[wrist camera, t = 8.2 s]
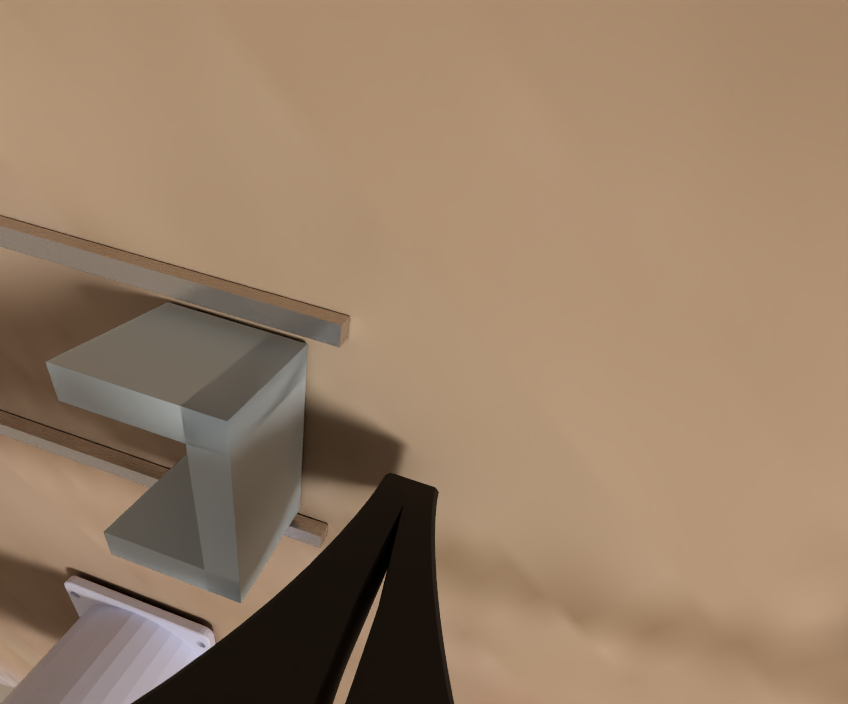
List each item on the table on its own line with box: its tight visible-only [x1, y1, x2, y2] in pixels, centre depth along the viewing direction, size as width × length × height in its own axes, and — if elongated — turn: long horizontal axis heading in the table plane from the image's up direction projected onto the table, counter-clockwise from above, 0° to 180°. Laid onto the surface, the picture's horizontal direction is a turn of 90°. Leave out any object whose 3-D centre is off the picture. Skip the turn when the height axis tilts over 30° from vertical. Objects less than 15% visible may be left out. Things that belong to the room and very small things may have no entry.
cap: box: [45, 302, 308, 603], centre depth 11 cm, size 6×4×3 cm, turn 169°
